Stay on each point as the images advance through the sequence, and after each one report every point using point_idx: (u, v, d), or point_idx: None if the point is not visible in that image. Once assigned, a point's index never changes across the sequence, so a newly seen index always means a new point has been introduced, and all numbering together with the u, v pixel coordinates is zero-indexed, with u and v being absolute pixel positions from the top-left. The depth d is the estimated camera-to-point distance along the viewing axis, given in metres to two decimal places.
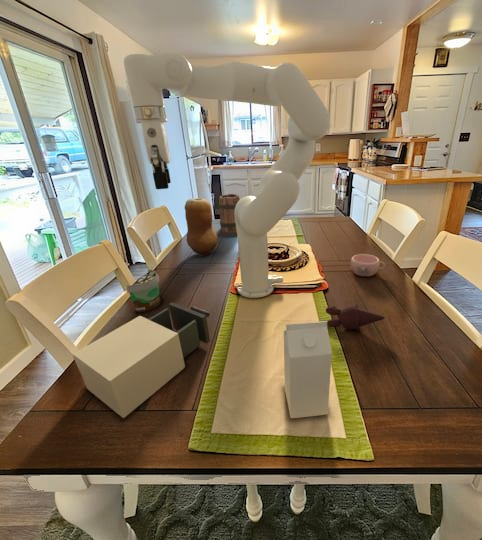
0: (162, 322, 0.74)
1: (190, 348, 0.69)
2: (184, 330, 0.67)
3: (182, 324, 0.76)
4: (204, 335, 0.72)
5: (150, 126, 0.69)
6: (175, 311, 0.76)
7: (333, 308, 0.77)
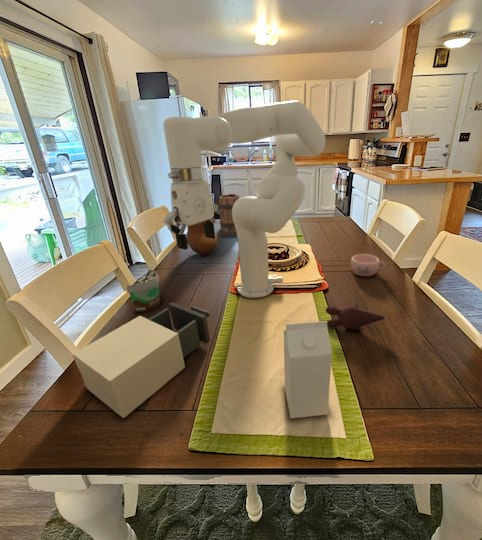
0: (162, 322, 0.74)
1: (190, 348, 0.69)
2: (184, 330, 0.67)
3: (182, 324, 0.76)
4: (204, 335, 0.72)
5: (173, 189, 0.67)
6: (175, 311, 0.76)
7: (333, 308, 0.77)
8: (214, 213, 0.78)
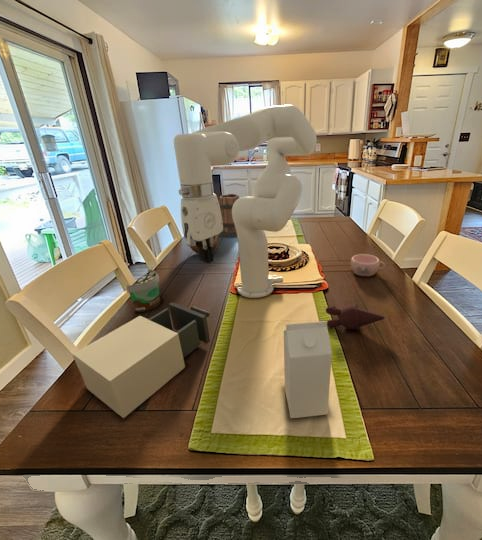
0: (162, 322, 0.74)
1: (190, 348, 0.69)
2: (184, 330, 0.67)
3: (182, 324, 0.76)
4: (204, 335, 0.72)
5: (184, 205, 0.66)
6: (175, 311, 0.76)
7: (333, 308, 0.77)
8: (212, 236, 0.75)
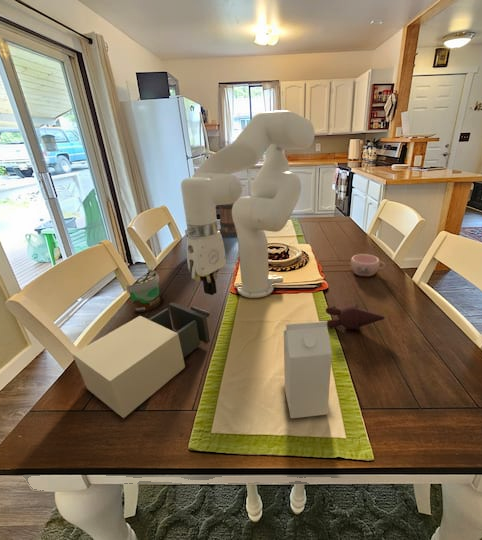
0: (162, 322, 0.74)
1: (190, 348, 0.69)
2: (184, 330, 0.67)
3: (182, 324, 0.76)
4: (204, 335, 0.72)
5: (190, 243, 0.70)
6: (175, 311, 0.76)
7: (333, 308, 0.77)
8: None
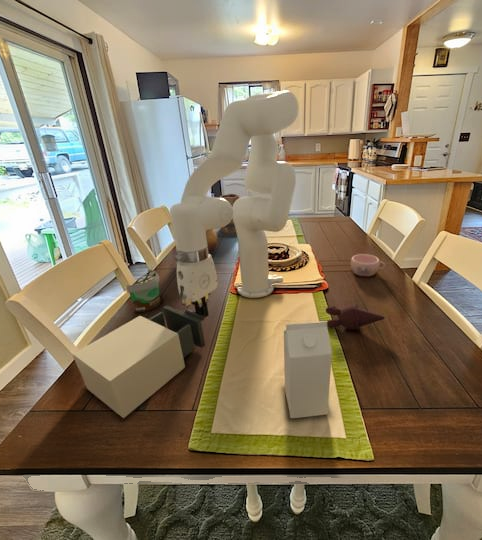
0: None
1: (184, 353, 0.68)
2: (178, 334, 0.65)
3: (177, 328, 0.75)
4: (199, 339, 0.71)
5: (180, 269, 0.69)
6: (169, 315, 0.74)
7: (333, 308, 0.77)
8: None
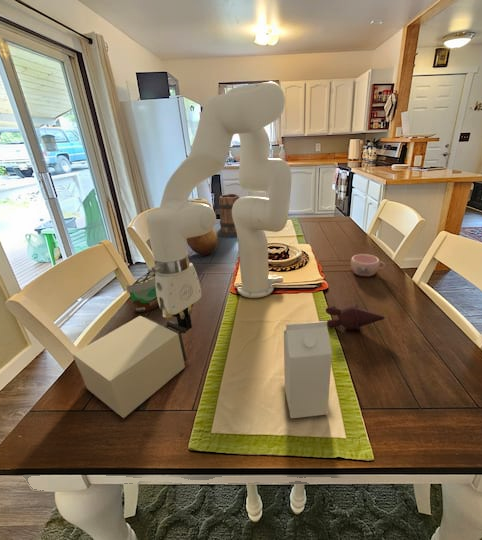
0: None
1: None
2: None
3: None
4: None
5: (158, 281, 0.64)
6: None
7: (333, 308, 0.77)
8: None
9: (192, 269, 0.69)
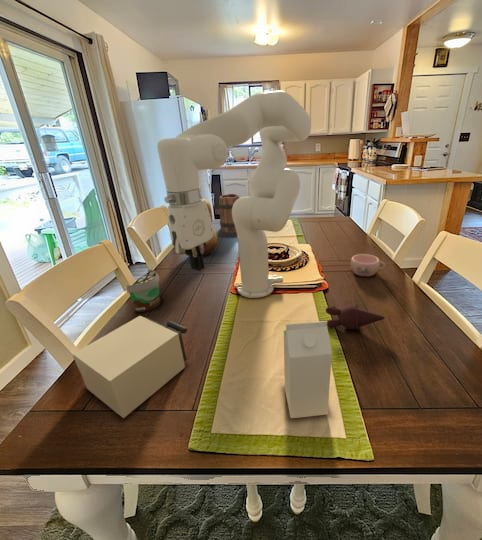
0: None
1: None
2: None
3: None
4: None
5: (171, 213, 0.63)
6: None
7: (333, 308, 0.77)
8: (202, 242, 0.72)
9: (204, 205, 0.68)
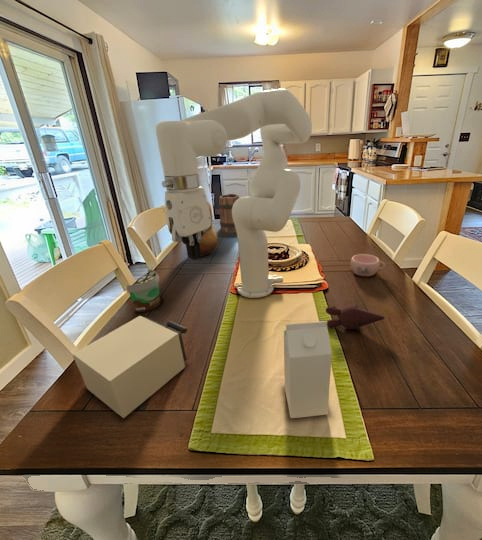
0: None
1: None
2: None
3: None
4: None
5: (168, 198, 0.62)
6: None
7: (333, 308, 0.77)
8: (200, 231, 0.71)
9: (202, 192, 0.67)
